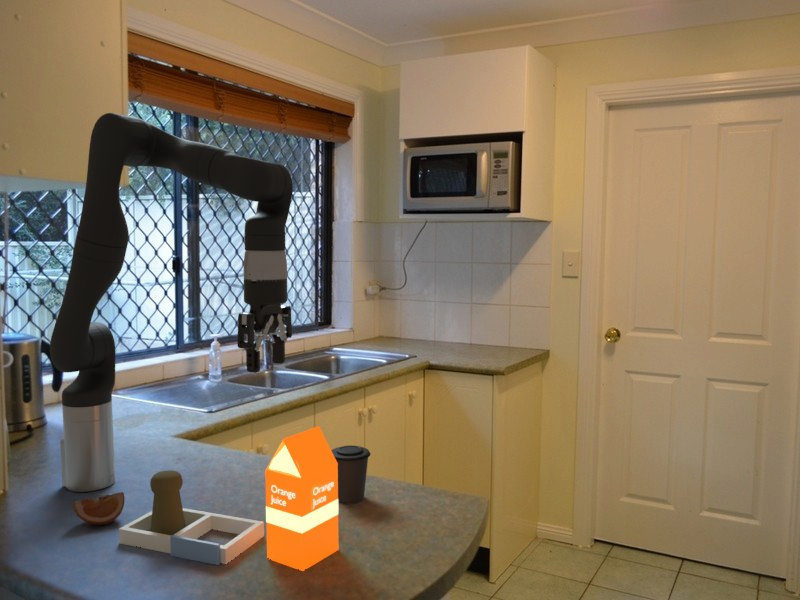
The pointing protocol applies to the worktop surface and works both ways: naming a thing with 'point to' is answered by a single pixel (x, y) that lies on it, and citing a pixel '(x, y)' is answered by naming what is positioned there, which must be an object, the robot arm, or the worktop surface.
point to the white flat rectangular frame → (195, 536)
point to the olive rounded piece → (167, 503)
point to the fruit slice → (100, 508)
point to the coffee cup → (351, 472)
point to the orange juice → (302, 501)
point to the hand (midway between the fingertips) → (266, 367)
